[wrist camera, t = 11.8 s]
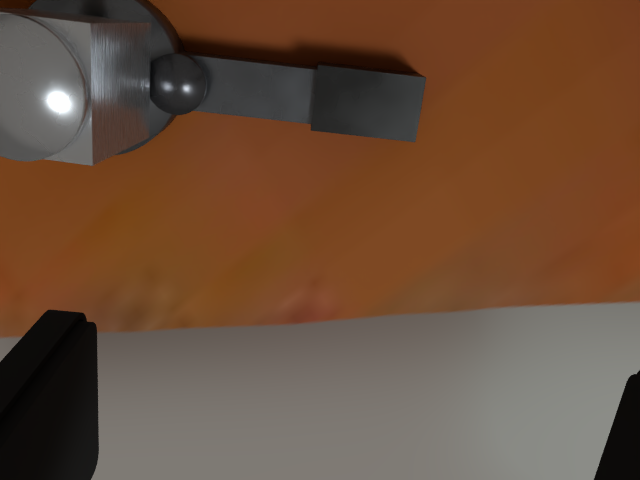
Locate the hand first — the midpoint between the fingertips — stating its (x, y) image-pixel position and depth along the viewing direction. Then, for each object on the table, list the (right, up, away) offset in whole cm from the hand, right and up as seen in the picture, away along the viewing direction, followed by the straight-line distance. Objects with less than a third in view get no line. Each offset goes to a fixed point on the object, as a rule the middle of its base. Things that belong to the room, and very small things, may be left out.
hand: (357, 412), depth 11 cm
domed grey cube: (-13, +12, +22) cm, 28 cm away
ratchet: (-6, +12, +26) cm, 29 cm away
